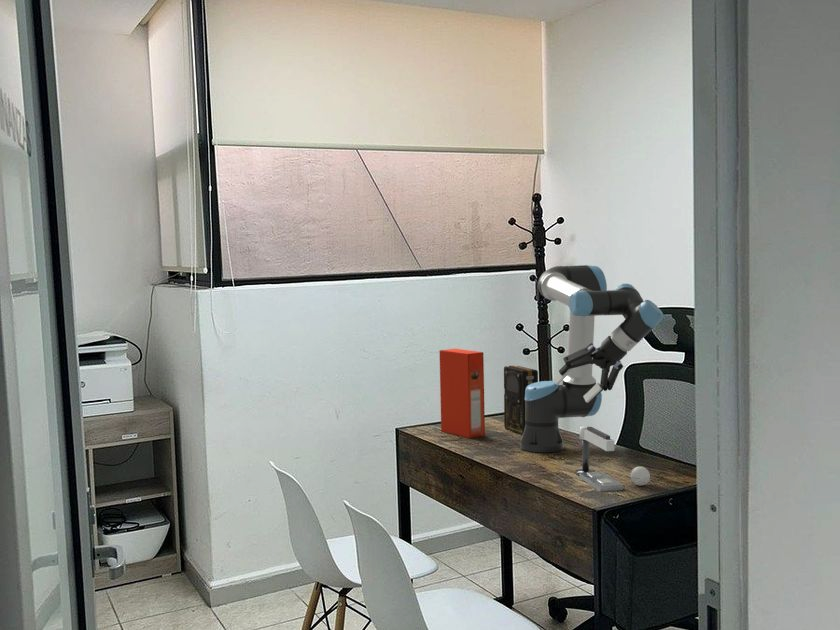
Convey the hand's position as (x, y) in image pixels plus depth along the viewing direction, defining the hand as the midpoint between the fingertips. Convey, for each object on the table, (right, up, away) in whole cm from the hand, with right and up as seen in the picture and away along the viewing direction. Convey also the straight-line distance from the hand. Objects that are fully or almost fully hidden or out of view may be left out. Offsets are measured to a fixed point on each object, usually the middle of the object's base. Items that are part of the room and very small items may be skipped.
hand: (570, 391), depth 265 cm
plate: (+8, -27, -7) cm, 29 cm away
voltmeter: (-7, -22, +71) cm, 75 cm away
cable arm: (+7, -16, -5) cm, 18 cm away
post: (+6, -26, +4) cm, 27 cm away
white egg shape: (+19, -27, -11) cm, 35 cm away
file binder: (-30, -23, +68) cm, 78 cm away
